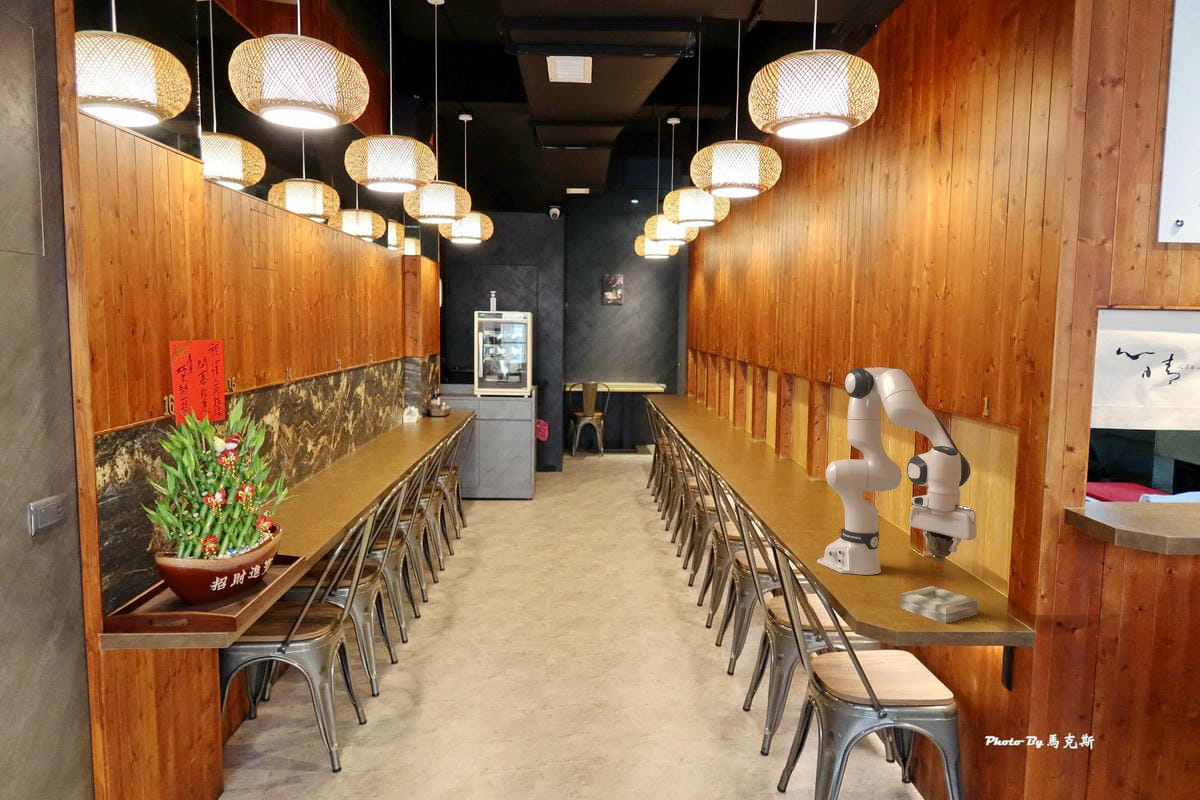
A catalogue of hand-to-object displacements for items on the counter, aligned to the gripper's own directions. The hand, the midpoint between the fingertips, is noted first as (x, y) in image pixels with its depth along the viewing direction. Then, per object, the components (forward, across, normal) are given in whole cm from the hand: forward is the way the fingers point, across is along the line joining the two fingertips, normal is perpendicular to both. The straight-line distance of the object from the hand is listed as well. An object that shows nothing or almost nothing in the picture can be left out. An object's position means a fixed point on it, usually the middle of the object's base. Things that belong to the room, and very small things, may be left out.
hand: (941, 548), depth 231 cm
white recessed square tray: (+19, 0, 0) cm, 19 cm away
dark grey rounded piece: (+4, +1, 0) cm, 4 cm away
